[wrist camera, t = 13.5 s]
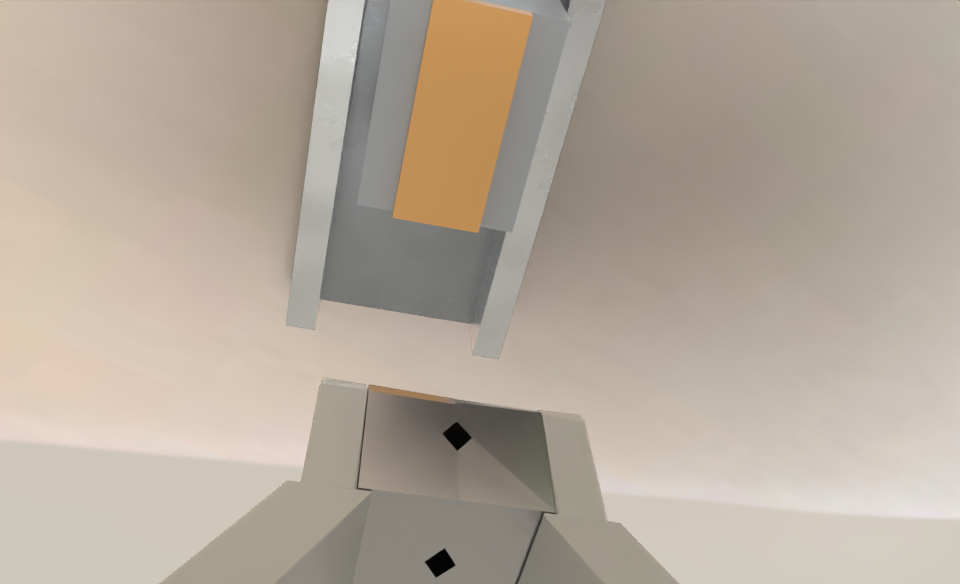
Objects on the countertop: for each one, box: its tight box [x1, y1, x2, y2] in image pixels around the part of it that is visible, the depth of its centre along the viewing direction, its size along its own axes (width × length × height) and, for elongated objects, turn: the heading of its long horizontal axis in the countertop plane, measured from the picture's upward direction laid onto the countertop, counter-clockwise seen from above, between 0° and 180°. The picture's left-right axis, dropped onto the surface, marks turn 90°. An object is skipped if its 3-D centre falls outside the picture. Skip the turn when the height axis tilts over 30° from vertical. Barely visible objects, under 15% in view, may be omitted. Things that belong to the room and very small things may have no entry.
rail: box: [286, 0, 606, 359], centre depth 26 cm, size 8×20×3 cm, turn 167°
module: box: [357, 0, 571, 233], centre depth 24 cm, size 4×6×6 cm
